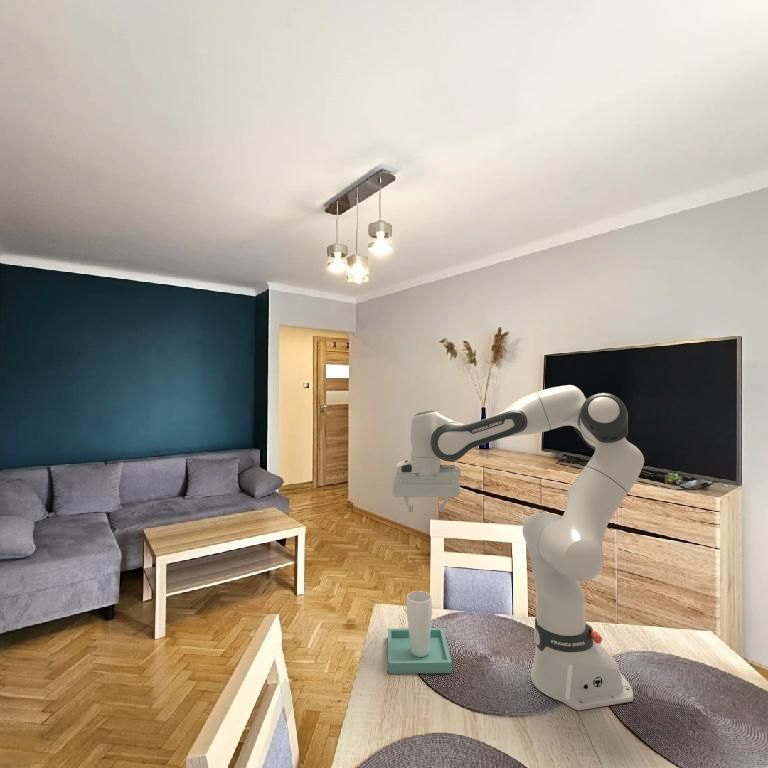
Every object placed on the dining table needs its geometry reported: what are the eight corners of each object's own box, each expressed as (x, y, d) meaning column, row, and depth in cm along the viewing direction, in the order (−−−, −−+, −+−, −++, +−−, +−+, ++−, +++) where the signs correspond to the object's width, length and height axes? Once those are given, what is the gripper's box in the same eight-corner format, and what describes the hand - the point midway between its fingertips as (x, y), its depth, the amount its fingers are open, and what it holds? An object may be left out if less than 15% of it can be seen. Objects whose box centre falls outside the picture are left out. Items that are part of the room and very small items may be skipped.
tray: (443, 637, 126) (443, 628, 126) (451, 673, 110) (451, 662, 110) (387, 637, 126) (387, 628, 126) (388, 673, 110) (388, 663, 110)
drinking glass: (431, 661, 114) (430, 603, 114) (405, 658, 115) (404, 601, 115) (433, 646, 120) (432, 591, 121) (409, 643, 122) (408, 589, 122)
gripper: (458, 462, 134) (459, 508, 133) (391, 463, 134) (392, 508, 133) (462, 466, 127) (462, 514, 127) (392, 467, 127) (392, 514, 127)
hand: (426, 511), depth 130 cm, fingers open, 8 cm apart
